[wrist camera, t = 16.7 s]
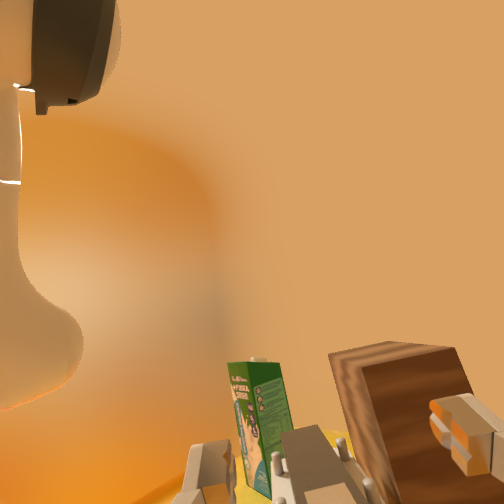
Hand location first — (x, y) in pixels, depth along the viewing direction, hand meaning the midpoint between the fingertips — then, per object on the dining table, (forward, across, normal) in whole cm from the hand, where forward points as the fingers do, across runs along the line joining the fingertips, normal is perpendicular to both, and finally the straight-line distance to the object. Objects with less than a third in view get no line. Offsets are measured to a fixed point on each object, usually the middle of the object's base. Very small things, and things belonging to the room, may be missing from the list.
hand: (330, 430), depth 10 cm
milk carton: (+33, +6, +51) cm, 61 cm away
